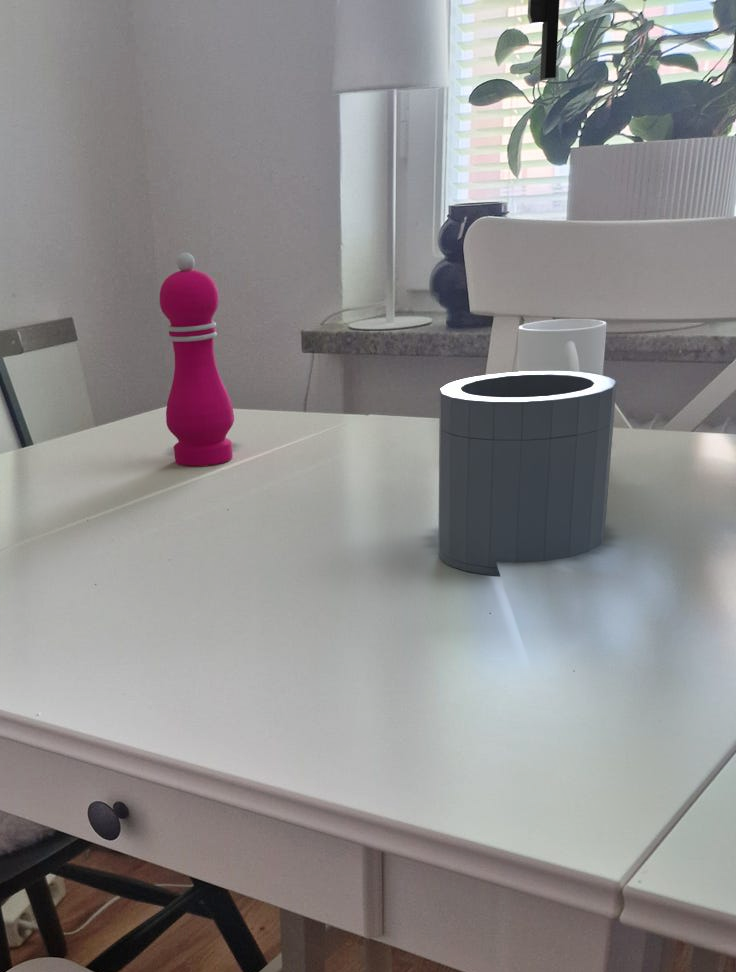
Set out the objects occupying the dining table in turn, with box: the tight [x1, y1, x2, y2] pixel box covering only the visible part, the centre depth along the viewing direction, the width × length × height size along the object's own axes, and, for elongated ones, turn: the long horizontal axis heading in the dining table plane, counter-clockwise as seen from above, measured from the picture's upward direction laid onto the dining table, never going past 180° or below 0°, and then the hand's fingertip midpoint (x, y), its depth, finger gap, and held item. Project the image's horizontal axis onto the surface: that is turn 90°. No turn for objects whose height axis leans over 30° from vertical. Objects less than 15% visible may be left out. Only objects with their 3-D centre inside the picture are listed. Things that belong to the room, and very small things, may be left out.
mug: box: [516, 318, 608, 376], centre depth 111 cm, size 12×8×12 cm
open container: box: [437, 371, 618, 577], centre depth 86 cm, size 12×12×12 cm
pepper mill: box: [159, 252, 235, 468], centre depth 120 cm, size 7×7×20 cm
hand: (644, 71), depth 84 cm, fingers open, 13 cm apart
